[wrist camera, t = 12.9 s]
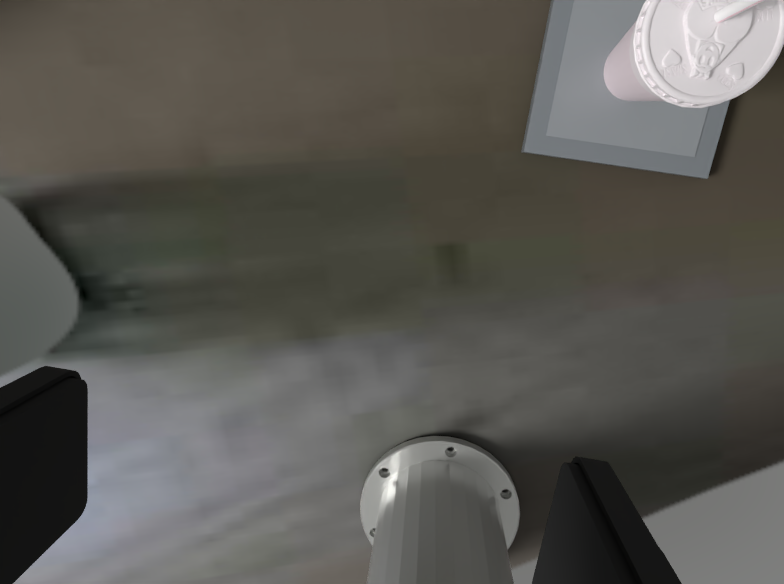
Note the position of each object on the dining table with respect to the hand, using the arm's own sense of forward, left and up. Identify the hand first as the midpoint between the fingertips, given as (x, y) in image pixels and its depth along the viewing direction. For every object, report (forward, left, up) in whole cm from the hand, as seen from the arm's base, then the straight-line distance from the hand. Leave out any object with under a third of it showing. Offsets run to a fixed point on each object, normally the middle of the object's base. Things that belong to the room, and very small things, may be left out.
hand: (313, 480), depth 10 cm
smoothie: (+14, -13, -27) cm, 33 cm away
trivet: (+14, -13, -28) cm, 34 cm away
